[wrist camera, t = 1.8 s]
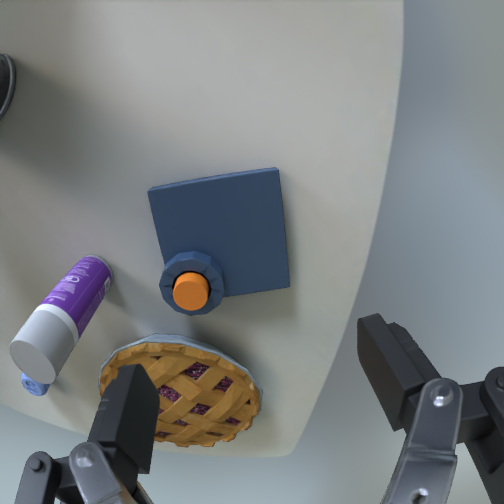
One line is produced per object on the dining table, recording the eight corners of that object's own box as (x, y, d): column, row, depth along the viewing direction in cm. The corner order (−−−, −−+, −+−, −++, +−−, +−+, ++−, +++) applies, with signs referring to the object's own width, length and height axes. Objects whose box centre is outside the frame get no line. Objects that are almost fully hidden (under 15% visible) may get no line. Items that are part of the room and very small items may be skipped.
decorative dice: (31, 372, 36) (22, 388, 32) (30, 357, 35) (19, 374, 31) (51, 382, 37) (42, 399, 33) (51, 368, 36) (41, 386, 32)
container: (98, 247, 29) (26, 331, 15) (121, 282, 31) (68, 379, 17) (70, 265, 30) (-1, 346, 16) (92, 297, 31) (37, 389, 18)
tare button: (179, 302, 29) (177, 312, 27) (171, 274, 28) (168, 283, 26) (211, 298, 29) (210, 308, 27) (205, 269, 28) (203, 278, 26)
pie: (291, 367, 38) (299, 394, 33) (211, 440, 44) (211, 464, 39) (136, 292, 32) (124, 317, 27) (89, 391, 38) (80, 414, 33)
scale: (174, 300, 32) (169, 318, 29) (146, 188, 27) (135, 196, 24) (287, 284, 33) (293, 300, 29) (275, 167, 28) (282, 172, 24)
